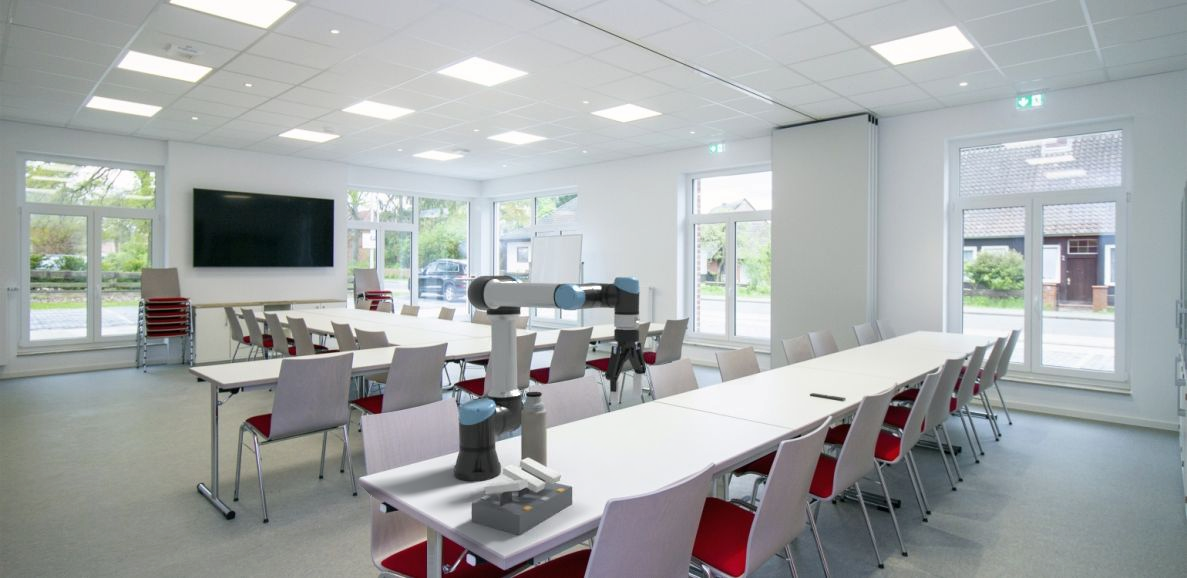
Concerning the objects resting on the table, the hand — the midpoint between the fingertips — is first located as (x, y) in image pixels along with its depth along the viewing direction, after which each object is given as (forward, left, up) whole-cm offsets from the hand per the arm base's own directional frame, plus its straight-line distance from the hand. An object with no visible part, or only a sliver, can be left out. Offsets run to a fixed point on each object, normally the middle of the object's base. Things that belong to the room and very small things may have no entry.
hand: (626, 398), depth 183 cm
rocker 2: (-16, -30, -18) cm, 39 cm away
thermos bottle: (-29, -8, -28) cm, 41 cm away
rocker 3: (-16, -23, -18) cm, 33 cm away
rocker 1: (-16, -38, -18) cm, 45 cm away
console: (-16, -30, -28) cm, 44 cm away
